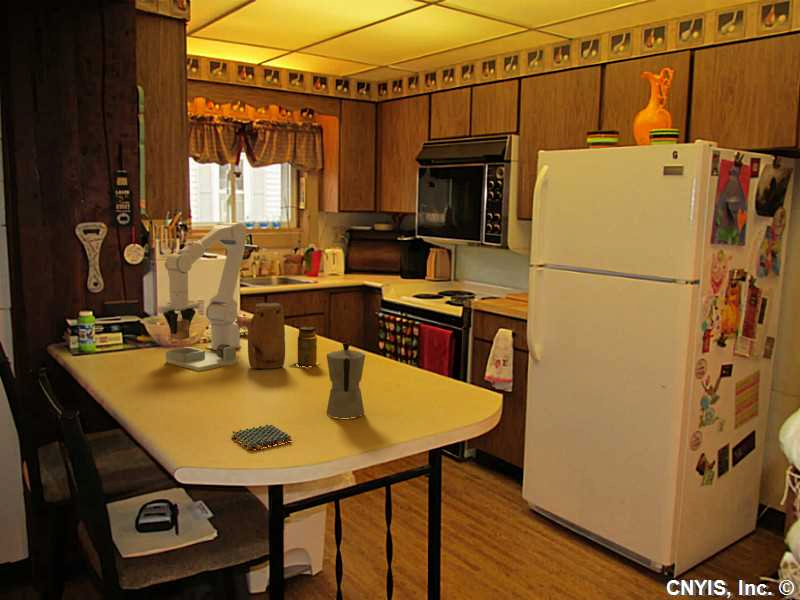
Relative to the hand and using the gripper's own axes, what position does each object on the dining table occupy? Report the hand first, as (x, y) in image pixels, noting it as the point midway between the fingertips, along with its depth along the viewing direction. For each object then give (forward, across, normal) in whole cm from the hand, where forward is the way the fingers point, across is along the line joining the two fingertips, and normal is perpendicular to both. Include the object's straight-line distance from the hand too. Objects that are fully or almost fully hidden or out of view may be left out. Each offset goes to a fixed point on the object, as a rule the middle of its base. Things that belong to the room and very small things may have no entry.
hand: (179, 332), depth 222 cm
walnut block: (+2, 0, 0) cm, 2 cm away
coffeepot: (+9, +9, +81) cm, 82 cm away
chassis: (+8, -1, +10) cm, 13 cm away
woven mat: (+9, +34, +79) cm, 86 cm away
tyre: (+7, -6, +15) cm, 18 cm away
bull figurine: (+9, -39, -16) cm, 43 cm away
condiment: (+9, -21, +37) cm, 43 cm away
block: (+9, -11, +30) cm, 33 cm away
